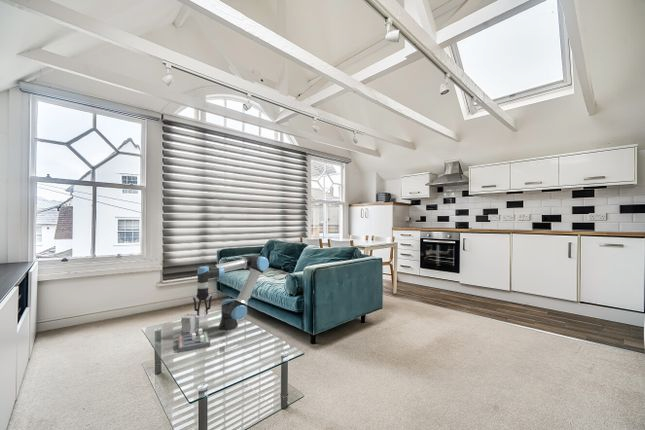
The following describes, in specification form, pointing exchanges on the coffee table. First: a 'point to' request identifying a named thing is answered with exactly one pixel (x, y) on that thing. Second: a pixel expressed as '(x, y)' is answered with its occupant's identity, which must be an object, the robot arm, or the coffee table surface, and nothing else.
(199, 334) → the handle
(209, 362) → the coffee table surface
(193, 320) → the circuit breaker
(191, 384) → the coffee table surface
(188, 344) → the breaker board
